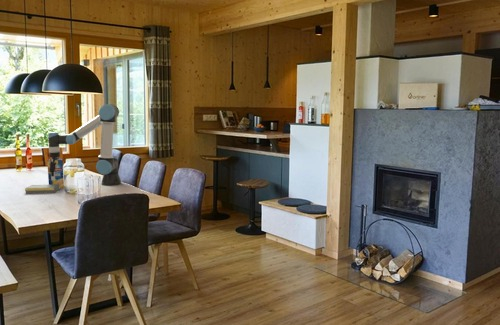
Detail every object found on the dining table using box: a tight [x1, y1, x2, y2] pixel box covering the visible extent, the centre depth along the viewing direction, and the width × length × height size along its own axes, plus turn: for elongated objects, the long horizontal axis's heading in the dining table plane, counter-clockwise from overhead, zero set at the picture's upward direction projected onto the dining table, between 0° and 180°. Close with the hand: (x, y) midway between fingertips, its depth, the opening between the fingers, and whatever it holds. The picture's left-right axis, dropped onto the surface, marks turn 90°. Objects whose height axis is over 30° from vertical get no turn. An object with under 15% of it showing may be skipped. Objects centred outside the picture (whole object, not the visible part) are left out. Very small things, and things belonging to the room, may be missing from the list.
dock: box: [24, 184, 61, 195], centre depth 333 cm, size 20×14×4 cm
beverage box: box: [46, 158, 65, 189], centre depth 348 cm, size 7×11×22 cm, turn 112°
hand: (56, 178), depth 349 cm, fingers open, 13 cm apart
